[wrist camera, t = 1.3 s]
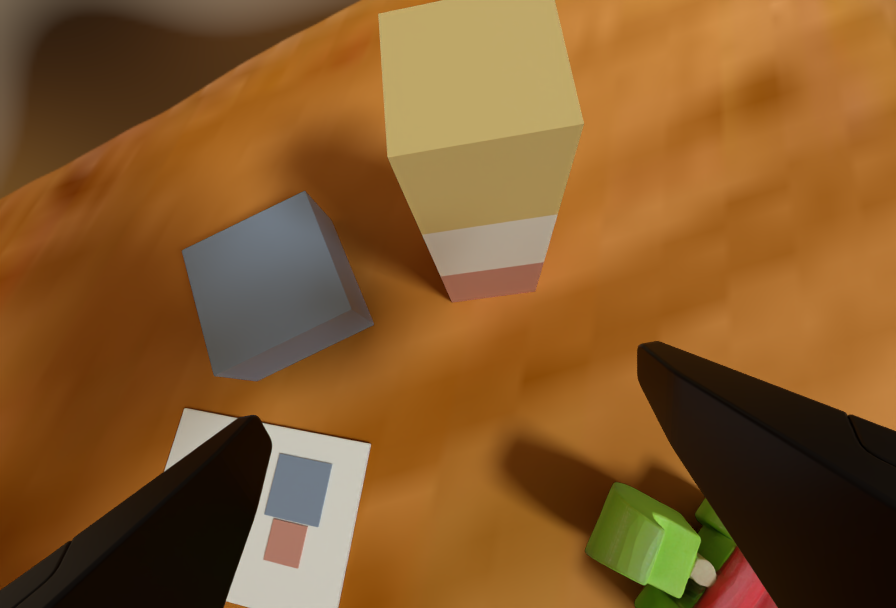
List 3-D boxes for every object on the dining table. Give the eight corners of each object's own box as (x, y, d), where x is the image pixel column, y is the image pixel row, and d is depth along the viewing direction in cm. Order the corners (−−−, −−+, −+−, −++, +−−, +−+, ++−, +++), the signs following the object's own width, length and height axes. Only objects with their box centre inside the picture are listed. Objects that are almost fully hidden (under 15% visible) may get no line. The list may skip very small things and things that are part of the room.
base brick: (375, 325, 24) (351, 309, 20) (259, 381, 24) (213, 375, 20) (333, 222, 26) (304, 190, 23) (228, 273, 26) (181, 250, 23)
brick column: (535, 291, 23) (583, 123, 10) (451, 302, 23) (387, 157, 10) (522, 216, 24) (549, -22, 11) (444, 228, 25) (378, 14, 11)
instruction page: (371, 443, 22) (369, 444, 22) (333, 628, 20) (331, 632, 19) (187, 408, 24) (183, 408, 24) (134, 572, 22) (129, 574, 21)
